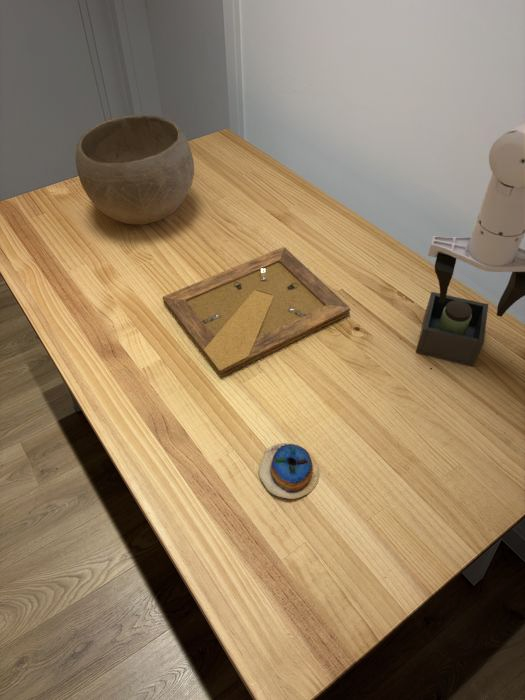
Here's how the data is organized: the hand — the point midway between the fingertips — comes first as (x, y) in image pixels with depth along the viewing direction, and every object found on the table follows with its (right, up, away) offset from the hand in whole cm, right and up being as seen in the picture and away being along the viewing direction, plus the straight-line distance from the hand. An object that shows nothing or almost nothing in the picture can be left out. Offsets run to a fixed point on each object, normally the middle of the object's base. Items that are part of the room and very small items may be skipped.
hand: (470, 304), depth 76 cm
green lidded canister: (0, -4, +8) cm, 9 cm away
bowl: (-52, +21, +32) cm, 64 cm away
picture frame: (-30, 0, +13) cm, 33 cm away
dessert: (-25, -22, -6) cm, 34 cm away
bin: (0, -5, +8) cm, 10 cm away
